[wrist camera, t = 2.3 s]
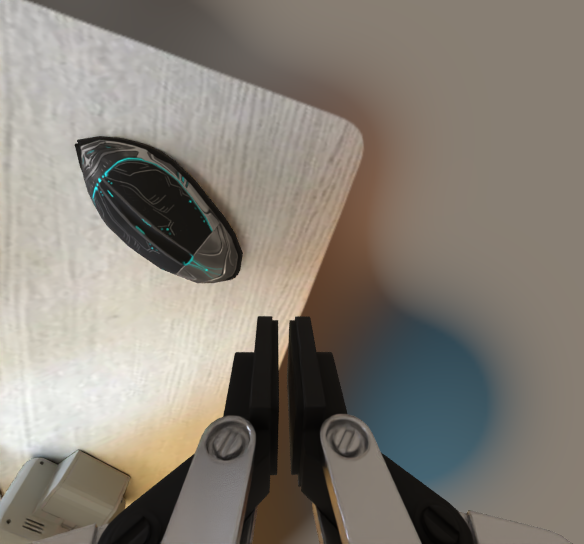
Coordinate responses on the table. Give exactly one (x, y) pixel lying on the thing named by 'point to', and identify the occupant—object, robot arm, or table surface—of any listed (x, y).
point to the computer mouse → (158, 209)
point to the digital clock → (60, 498)
